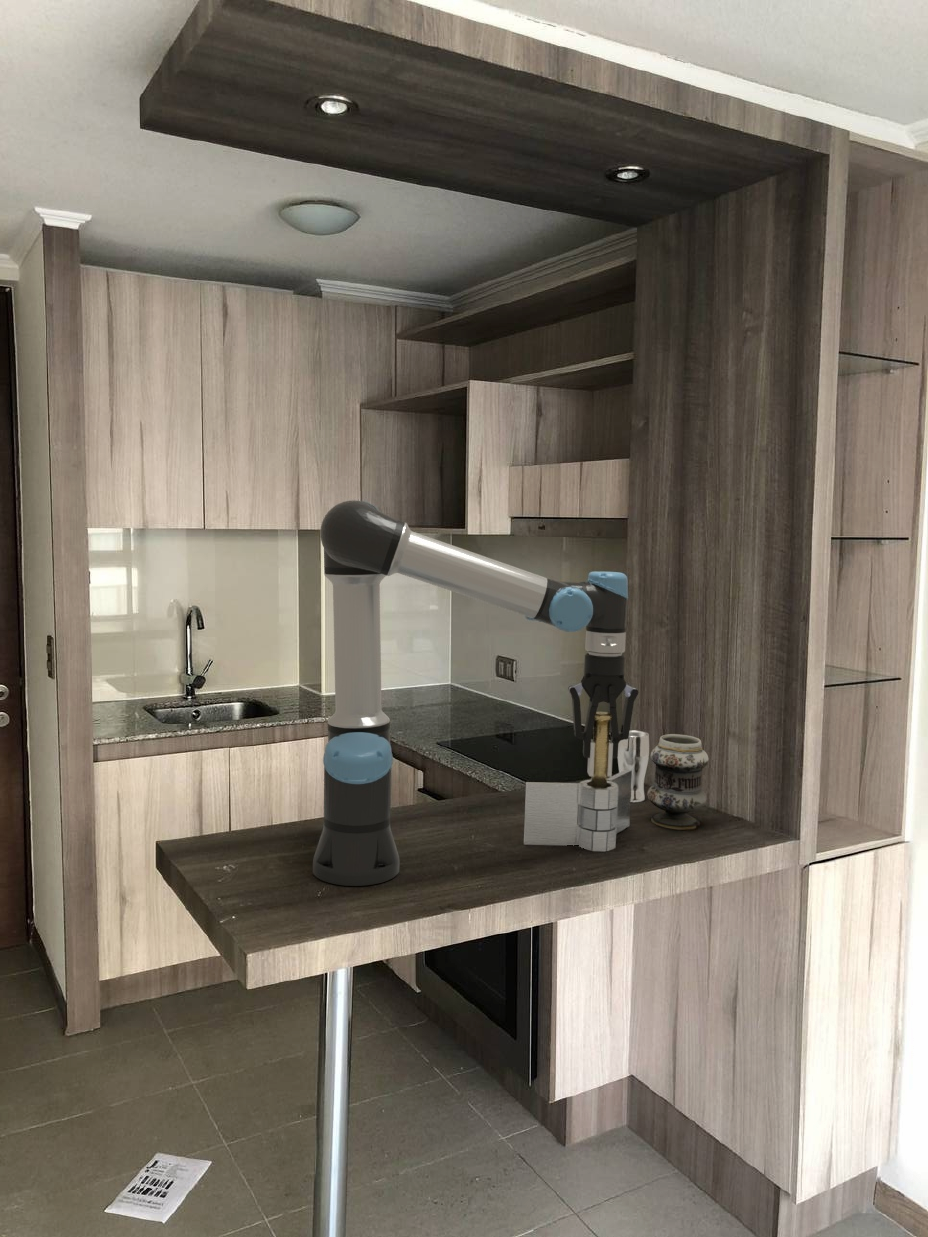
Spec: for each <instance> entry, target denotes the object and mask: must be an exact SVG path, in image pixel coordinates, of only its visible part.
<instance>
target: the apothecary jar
mask: <svg viewBox="0 0 928 1237" xmlns="http://www.w3.org/2000/svg"><path fill="white" fill-rule="evenodd" d="M708 755H709V754H707V752H706V751H705V750H704V749H703V747H702V740H701V739H700V738H698V737H695V736H692V735H687V734H678V733H670V734H669V733H668V734H664V735H661V736H660V738H659V742H658V744H657V745H656V746H654V747H653V749H651V752H650V760H651V761H652V762H653V763H654V764H655V774H654V780H653V781H654V782H653V784H652V785H650V787H649V788H648V790H647V793H646V794H647V798H648V801H649V802H650V803H651V804H652V805H653V806H655V807H656V808H658V809H660V810H662V811H663V812H661V813H657V814H654V815H653V816H652V817H651V822H652V823H653V824H654V825H656V826H658V827H661V828H663V829H664V828H665V829H669V830H675V831H676V830H680V831H681V830H682V831H684V830H685V831H687V830H688V831H689V830H694V829H696V828H697V826H700V821H699V820H698V819H697V818H695V817H693V816H691V815H689V814H688V813H693V812H696V811H699V810H701V809H702V808H703V807H704V805H706V802H707V795H706V792H704V790H703V789H702V775H703V774H702V773H703V769H704V768H706V766H707V765H708V763H709V756H708Z"/></svg>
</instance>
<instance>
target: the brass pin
mask: <svg viewBox="0 0 928 1237" xmlns="http://www.w3.org/2000/svg"><path fill="white" fill-rule="evenodd" d="M611 720H612V715H610V714H609V713H608V711H597V712H596V715H595V722H594V728H593V733H592V737H593V738H592V740H593V742H595V753H594V775H593V776H590V777H591V778H590V779H591V787H595V788H607V778H608V776H607V764H608V743H609V740H610V721H611Z"/></svg>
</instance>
